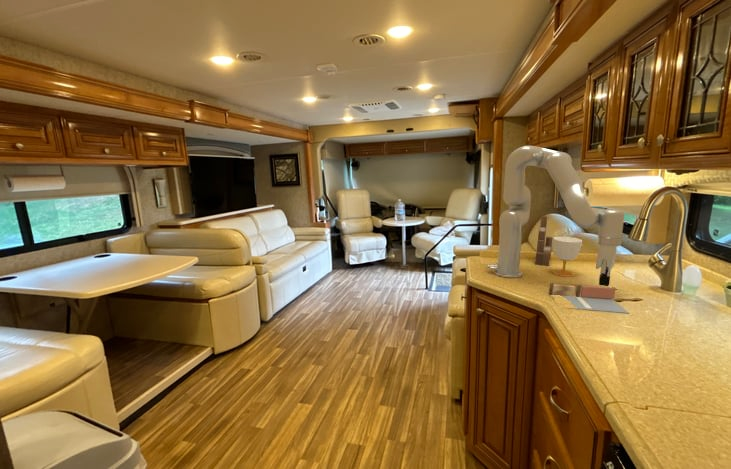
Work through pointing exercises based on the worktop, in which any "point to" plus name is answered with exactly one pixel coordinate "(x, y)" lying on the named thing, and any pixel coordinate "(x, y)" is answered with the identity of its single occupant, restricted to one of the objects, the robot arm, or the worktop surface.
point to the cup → (566, 252)
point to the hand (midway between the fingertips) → (603, 285)
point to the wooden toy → (543, 245)
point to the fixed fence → (564, 290)
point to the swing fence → (598, 292)
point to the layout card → (595, 304)
